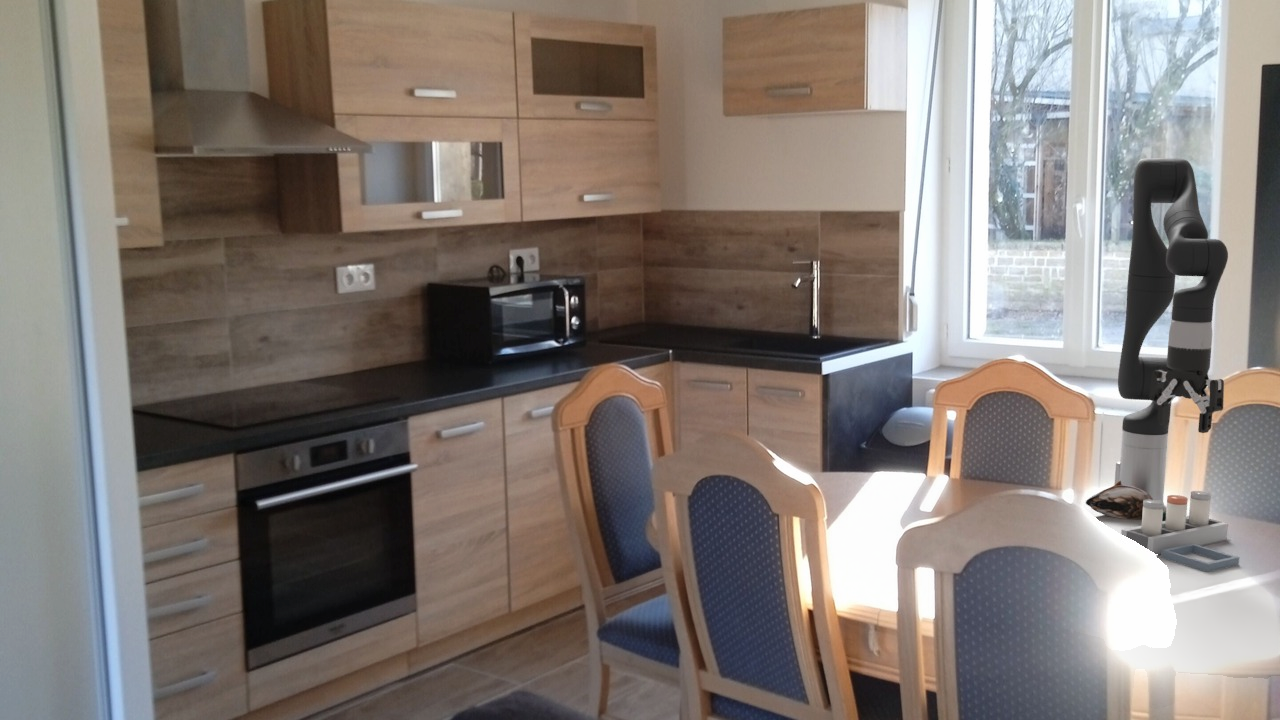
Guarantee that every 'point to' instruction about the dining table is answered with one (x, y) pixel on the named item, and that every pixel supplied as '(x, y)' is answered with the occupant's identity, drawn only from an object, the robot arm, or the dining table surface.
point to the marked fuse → (1176, 513)
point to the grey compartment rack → (1180, 536)
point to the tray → (1220, 563)
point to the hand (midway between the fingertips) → (1183, 428)
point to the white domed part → (1199, 508)
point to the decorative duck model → (1120, 502)
